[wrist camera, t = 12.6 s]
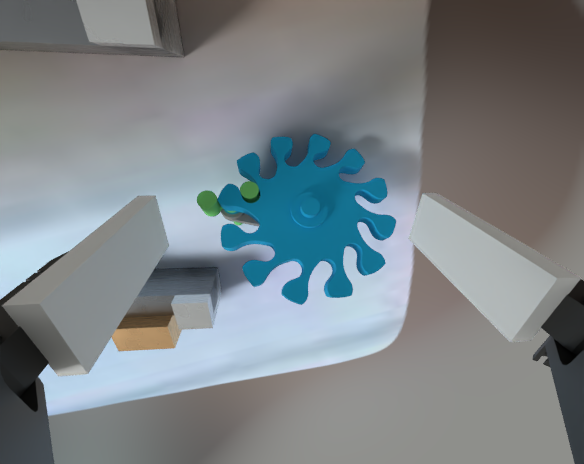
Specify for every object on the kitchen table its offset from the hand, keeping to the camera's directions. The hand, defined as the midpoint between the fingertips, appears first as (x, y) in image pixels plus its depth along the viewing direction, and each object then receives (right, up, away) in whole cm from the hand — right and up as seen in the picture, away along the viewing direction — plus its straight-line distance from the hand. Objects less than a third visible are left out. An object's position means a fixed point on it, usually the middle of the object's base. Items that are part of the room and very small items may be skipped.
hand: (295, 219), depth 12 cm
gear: (0, +2, +5) cm, 5 cm away
